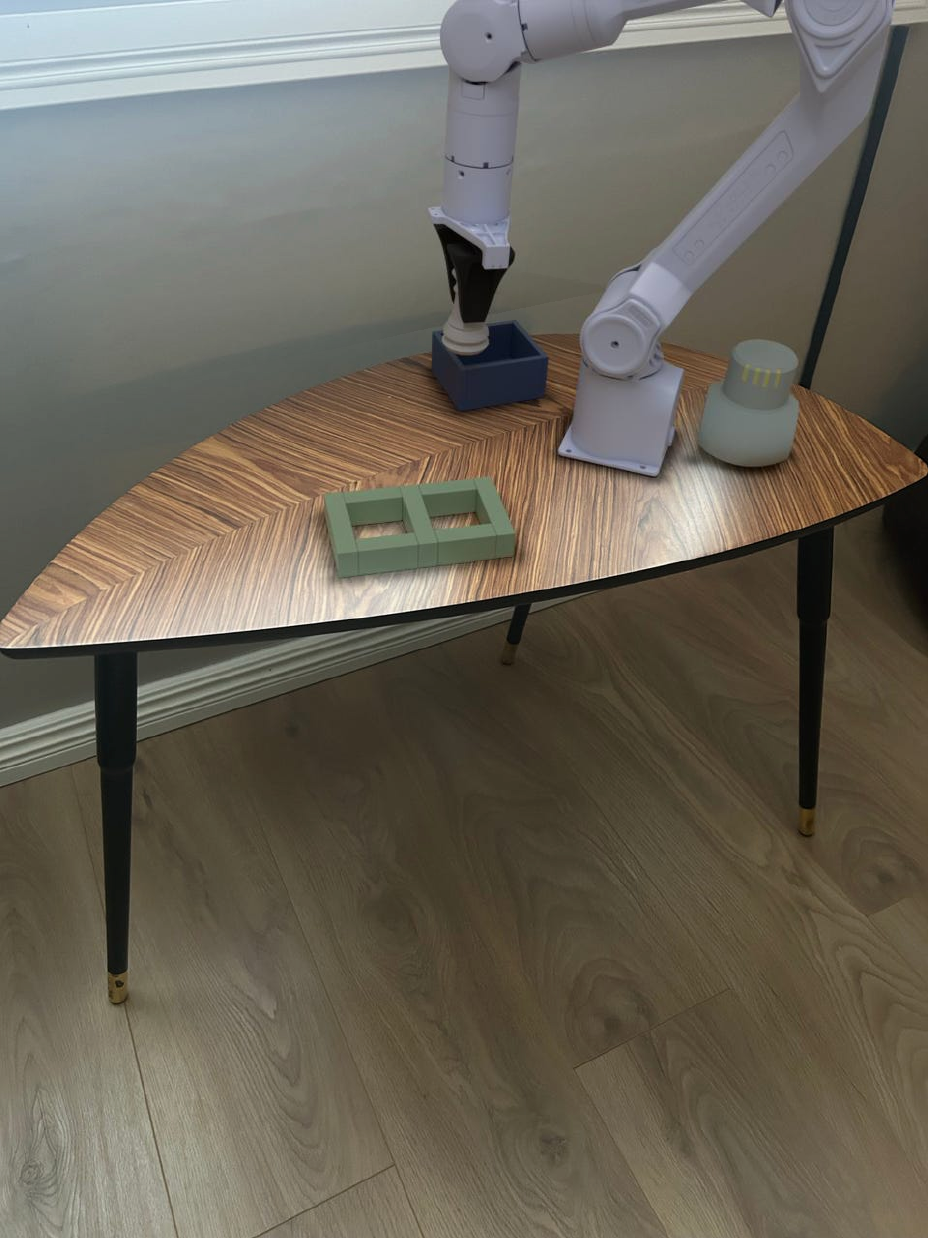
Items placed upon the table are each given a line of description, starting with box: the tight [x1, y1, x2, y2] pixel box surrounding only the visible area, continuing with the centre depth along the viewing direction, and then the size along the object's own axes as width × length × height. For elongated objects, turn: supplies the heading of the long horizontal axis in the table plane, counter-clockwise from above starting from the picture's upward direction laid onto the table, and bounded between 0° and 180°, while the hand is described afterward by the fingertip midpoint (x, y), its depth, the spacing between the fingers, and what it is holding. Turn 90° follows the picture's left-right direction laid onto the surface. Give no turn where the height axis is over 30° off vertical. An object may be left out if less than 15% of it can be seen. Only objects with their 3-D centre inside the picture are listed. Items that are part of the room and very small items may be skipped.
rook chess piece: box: [442, 268, 489, 355], centre depth 91 cm, size 4×4×8 cm
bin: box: [431, 319, 550, 412], centre depth 101 cm, size 9×8×4 cm
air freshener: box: [696, 338, 800, 468], centre depth 92 cm, size 11×8×10 cm
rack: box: [323, 476, 516, 579], centre depth 83 cm, size 14×8×2 cm, turn 104°
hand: (468, 311), depth 92 cm, fingers closed on rook chess piece, 3 cm apart
